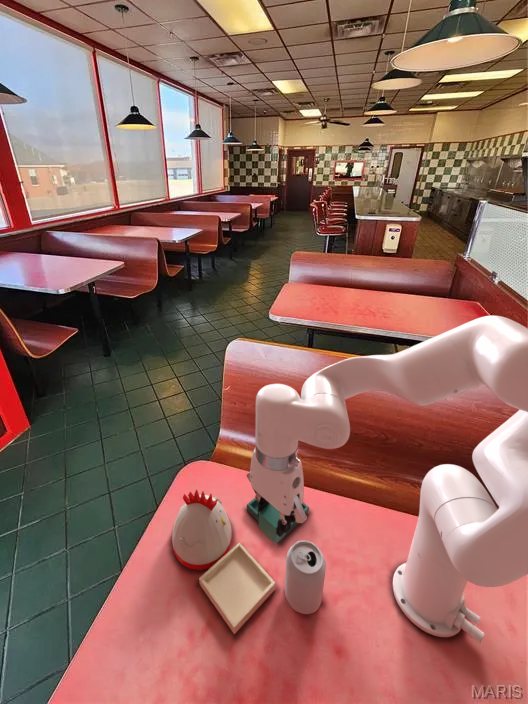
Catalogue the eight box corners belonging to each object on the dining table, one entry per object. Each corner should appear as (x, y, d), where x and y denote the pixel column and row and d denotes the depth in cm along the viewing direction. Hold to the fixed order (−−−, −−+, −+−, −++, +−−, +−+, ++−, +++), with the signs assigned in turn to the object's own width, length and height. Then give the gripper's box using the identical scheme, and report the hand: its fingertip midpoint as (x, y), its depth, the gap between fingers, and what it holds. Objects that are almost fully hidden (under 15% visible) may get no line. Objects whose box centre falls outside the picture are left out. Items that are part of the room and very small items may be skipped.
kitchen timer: (220, 577, 70) (218, 528, 64) (162, 560, 73) (155, 512, 68) (238, 518, 82) (237, 473, 77) (187, 506, 86) (183, 462, 80)
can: (322, 621, 63) (327, 581, 58) (282, 612, 64) (285, 572, 60) (321, 578, 70) (326, 540, 65) (285, 571, 71) (288, 533, 67)
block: (290, 528, 66) (291, 512, 65) (275, 544, 64) (275, 528, 62) (273, 513, 69) (273, 498, 68) (258, 528, 67) (258, 512, 65)
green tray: (308, 513, 84) (309, 507, 83) (279, 542, 77) (279, 536, 76) (276, 486, 92) (276, 480, 91) (246, 510, 85) (246, 504, 84)
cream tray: (275, 589, 68) (275, 582, 67) (234, 634, 61) (234, 627, 60) (239, 548, 76) (239, 542, 75) (199, 584, 69) (198, 578, 68)
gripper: (328, 465, 55) (320, 539, 62) (256, 419, 67) (256, 485, 74) (301, 491, 51) (295, 568, 57) (229, 436, 62) (231, 506, 69)
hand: (273, 521), depth 65 cm, fingers closed on block, 4 cm apart
